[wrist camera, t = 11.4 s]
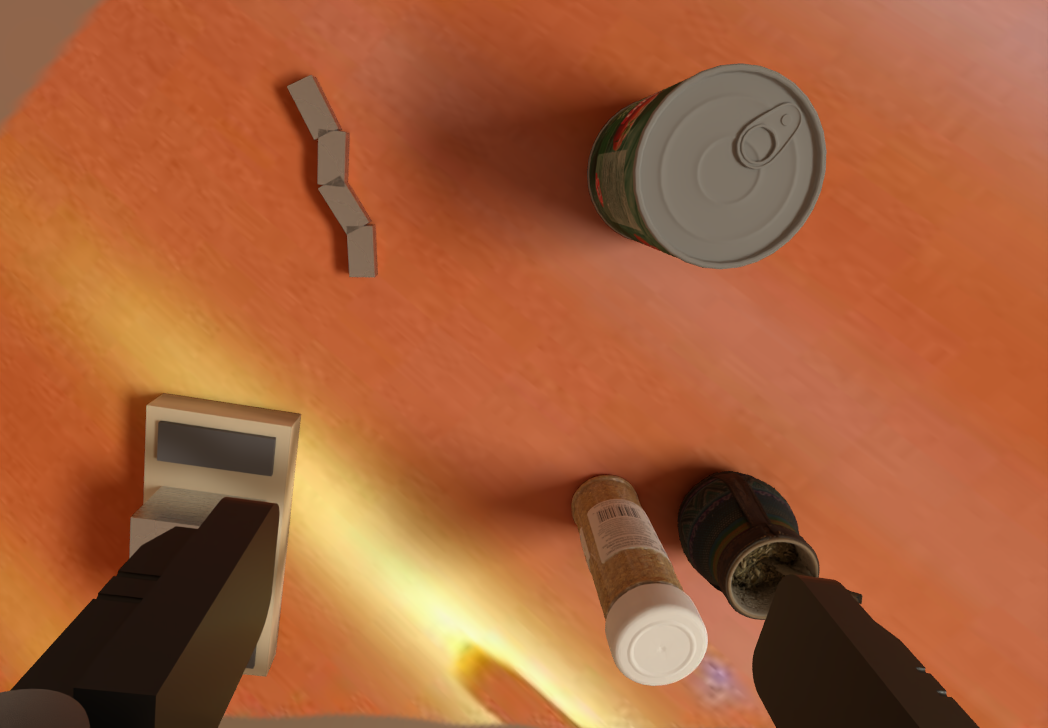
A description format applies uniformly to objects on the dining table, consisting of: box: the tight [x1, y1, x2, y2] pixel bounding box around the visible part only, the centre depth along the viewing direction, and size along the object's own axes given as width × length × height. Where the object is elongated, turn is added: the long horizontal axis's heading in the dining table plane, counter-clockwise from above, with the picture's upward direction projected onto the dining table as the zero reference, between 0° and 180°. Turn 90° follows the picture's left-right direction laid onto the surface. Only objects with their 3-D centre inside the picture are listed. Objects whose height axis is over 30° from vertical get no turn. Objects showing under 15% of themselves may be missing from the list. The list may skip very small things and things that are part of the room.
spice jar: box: [571, 475, 708, 686], centre depth 35 cm, size 5×5×13 cm
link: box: [129, 486, 267, 558], centre depth 36 cm, size 8×6×4 cm
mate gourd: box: [678, 471, 862, 620], centre depth 37 cm, size 7×8×10 cm
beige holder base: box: [143, 393, 301, 676], centre depth 36 cm, size 18×8×8 cm, turn 169°
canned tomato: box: [587, 64, 826, 269], centre depth 30 cm, size 8×8×11 cm
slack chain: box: [287, 75, 378, 277], centre depth 34 cm, size 11×2×1 cm, turn 12°
